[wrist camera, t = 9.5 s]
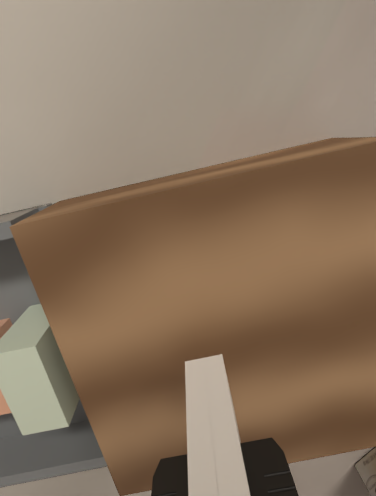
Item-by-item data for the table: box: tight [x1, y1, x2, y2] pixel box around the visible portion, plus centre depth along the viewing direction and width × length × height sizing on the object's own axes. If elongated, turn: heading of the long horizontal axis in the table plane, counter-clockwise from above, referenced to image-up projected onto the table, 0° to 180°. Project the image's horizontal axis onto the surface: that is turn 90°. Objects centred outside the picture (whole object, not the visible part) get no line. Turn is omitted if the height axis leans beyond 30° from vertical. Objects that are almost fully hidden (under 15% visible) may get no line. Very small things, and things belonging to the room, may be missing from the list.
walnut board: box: [9, 137, 376, 496], centre depth 18 cm, size 16×16×6 cm
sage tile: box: [0, 304, 80, 435], centre depth 19 cm, size 5×5×2 cm
